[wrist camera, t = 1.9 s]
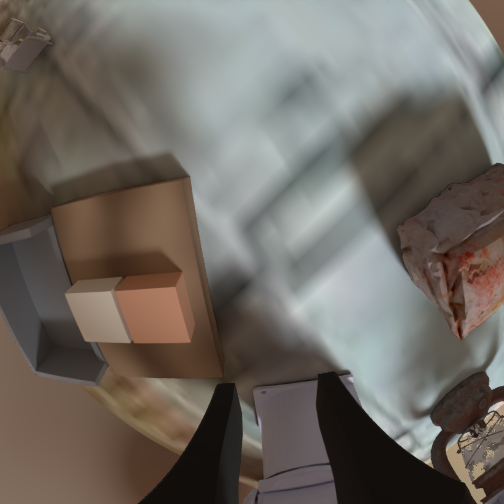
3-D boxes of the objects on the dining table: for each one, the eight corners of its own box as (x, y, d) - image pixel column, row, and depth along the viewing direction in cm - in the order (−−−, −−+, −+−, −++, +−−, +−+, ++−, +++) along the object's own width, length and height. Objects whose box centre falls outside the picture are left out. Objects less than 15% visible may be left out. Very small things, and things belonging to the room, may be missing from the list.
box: (65, 210, 17) (29, 228, 13) (115, 352, 22) (97, 386, 18) (7, 226, 17) (-25, 244, 13) (54, 347, 22) (35, 374, 18)
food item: (405, 298, 20) (468, 376, 11) (376, 216, 18) (466, 279, 9) (503, 222, 18) (574, 262, 9) (488, 145, 15) (575, 164, 6)
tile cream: (122, 276, 17) (110, 291, 15) (139, 326, 18) (130, 343, 16) (78, 280, 17) (64, 293, 15) (96, 326, 18) (85, 341, 17)
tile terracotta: (182, 271, 17) (175, 286, 15) (195, 324, 18) (190, 342, 16) (126, 276, 17) (114, 290, 15) (142, 325, 18) (134, 343, 16)
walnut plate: (189, 176, 17) (182, 180, 15) (224, 360, 22) (223, 377, 20) (66, 202, 17) (50, 208, 15) (120, 360, 22) (113, 375, 20)
